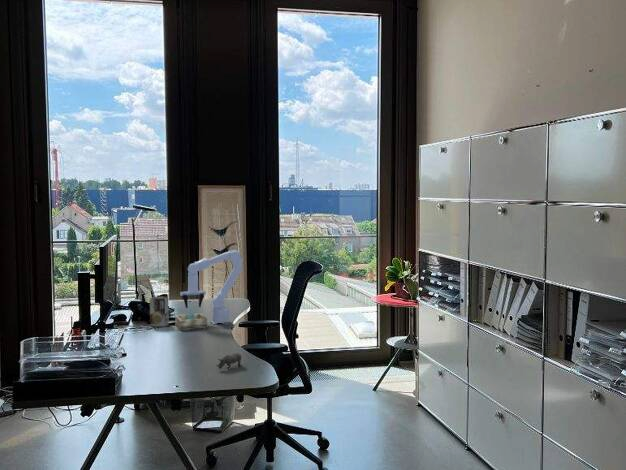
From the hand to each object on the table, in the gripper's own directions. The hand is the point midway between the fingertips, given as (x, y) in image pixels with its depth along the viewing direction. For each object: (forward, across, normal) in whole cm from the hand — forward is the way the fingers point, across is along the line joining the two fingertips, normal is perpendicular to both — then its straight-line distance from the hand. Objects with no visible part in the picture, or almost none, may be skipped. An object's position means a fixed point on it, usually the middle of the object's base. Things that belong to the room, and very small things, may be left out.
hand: (193, 307), depth 340 cm
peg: (+9, -3, -8) cm, 13 cm away
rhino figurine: (+10, -4, -93) cm, 94 cm away
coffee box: (+10, -19, +2) cm, 21 cm away
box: (+9, -3, -8) cm, 13 cm away
